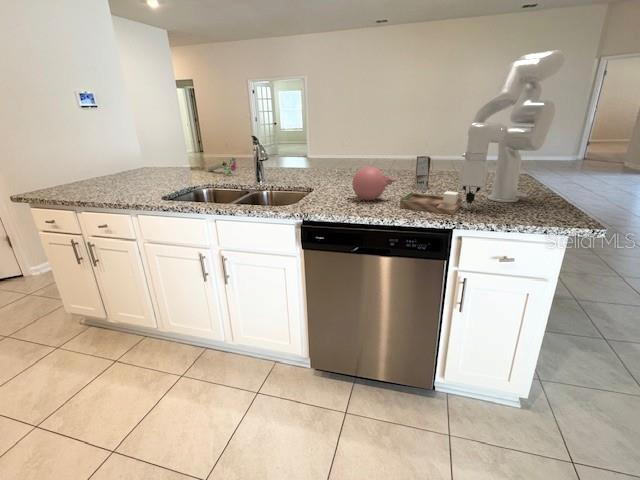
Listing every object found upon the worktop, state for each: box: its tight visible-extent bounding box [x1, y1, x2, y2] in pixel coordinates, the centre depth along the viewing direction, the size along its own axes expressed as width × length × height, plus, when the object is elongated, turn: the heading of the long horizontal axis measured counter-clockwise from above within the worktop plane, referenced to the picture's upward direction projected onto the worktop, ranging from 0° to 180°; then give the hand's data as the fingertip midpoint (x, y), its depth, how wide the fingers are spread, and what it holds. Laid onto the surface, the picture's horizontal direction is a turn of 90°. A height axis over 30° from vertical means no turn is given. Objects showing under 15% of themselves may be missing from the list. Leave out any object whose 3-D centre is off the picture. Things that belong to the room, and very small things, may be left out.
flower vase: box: [206, 157, 238, 176], centre depth 236 cm, size 12×12×35 cm
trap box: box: [399, 190, 463, 216], centre depth 144 cm, size 22×15×4 cm
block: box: [443, 190, 460, 204], centre depth 143 cm, size 5×5×4 cm
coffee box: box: [414, 155, 432, 190], centre depth 179 cm, size 9×6×16 cm
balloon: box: [351, 166, 397, 201], centre depth 156 cm, size 15×20×15 cm
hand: (469, 202), depth 139 cm, fingers closed
